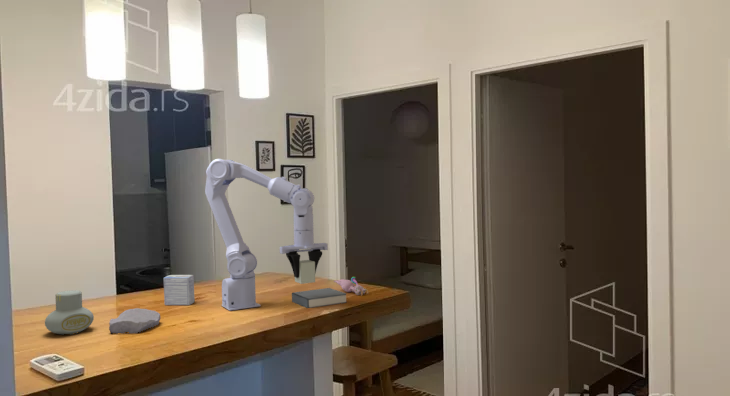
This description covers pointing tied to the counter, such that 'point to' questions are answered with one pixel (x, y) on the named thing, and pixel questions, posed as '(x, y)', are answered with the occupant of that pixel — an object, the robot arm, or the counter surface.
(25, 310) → the counter surface
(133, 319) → the stone block
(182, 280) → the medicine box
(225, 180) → the robot arm
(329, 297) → the book
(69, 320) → the air freshener
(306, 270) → the sage block
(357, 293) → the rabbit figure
